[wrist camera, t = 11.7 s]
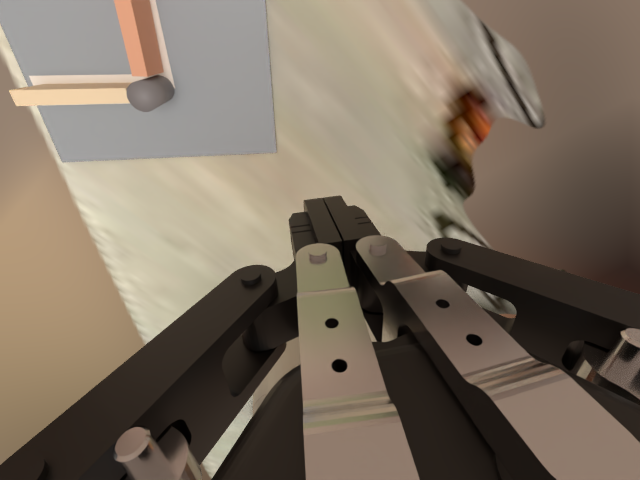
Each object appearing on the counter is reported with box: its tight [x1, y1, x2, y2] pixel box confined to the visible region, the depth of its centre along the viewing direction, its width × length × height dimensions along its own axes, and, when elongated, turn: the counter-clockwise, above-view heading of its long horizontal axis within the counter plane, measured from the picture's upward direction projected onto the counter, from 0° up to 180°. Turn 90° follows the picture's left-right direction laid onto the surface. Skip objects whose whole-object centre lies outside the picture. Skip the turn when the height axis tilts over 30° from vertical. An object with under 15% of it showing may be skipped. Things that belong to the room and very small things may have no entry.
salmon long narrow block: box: [114, 0, 164, 77], centre depth 26 cm, size 9×1×5 cm, turn 178°
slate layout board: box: [0, 0, 277, 162], centre depth 28 cm, size 18×23×6 cm
